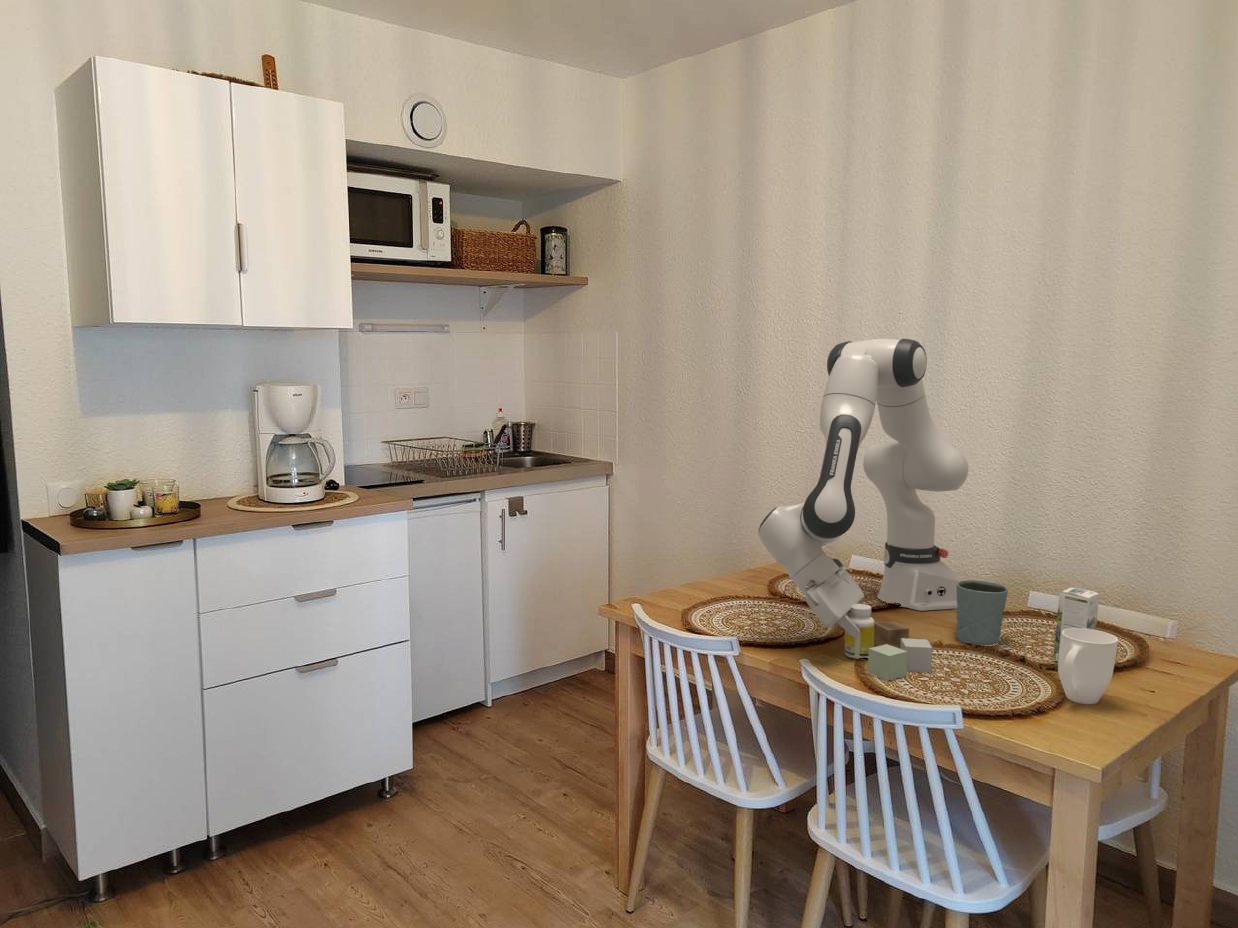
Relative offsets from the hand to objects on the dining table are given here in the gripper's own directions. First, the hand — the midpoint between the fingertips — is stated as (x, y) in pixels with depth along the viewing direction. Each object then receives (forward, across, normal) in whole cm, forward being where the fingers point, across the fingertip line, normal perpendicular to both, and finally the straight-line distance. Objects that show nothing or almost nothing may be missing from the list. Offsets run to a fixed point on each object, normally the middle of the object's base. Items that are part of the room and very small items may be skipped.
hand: (862, 630), depth 183 cm
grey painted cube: (+12, -1, -4) cm, 12 cm away
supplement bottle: (+4, 0, +4) cm, 6 cm away
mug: (+32, -4, -24) cm, 40 cm away
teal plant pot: (+18, +23, -10) cm, 31 cm away
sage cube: (+9, -8, -1) cm, 12 cm away
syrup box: (+31, +18, -23) cm, 42 cm away
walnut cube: (+7, +8, +1) cm, 10 cm away
